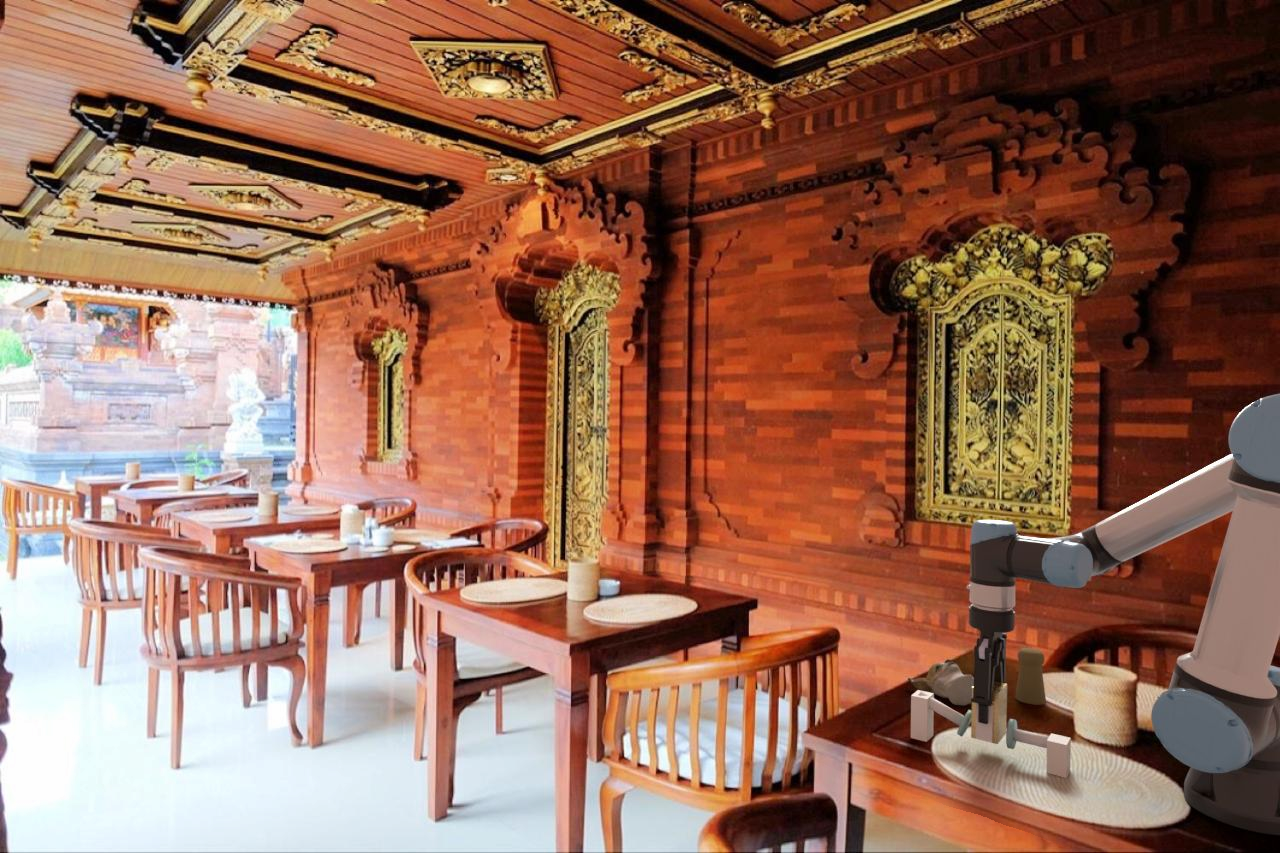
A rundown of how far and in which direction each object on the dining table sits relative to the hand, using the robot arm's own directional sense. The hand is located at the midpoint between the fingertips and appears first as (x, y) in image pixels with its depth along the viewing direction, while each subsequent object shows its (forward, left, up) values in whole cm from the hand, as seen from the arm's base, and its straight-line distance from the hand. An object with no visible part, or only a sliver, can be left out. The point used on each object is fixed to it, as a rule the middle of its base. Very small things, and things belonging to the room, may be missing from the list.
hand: (989, 733), depth 137 cm
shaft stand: (0, 0, -4) cm, 4 cm away
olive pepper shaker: (0, -36, -4) cm, 36 cm away
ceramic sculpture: (+14, -26, -4) cm, 30 cm away
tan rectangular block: (0, 0, 0) cm, 0 cm away
